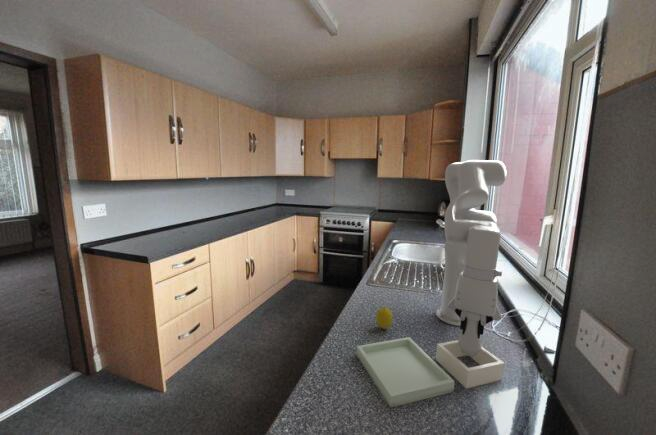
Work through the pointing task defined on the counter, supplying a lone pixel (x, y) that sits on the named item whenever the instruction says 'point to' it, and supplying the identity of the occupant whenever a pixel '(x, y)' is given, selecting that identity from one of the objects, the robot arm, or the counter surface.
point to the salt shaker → (470, 335)
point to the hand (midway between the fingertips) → (470, 333)
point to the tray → (403, 371)
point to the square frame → (472, 376)
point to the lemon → (384, 317)
